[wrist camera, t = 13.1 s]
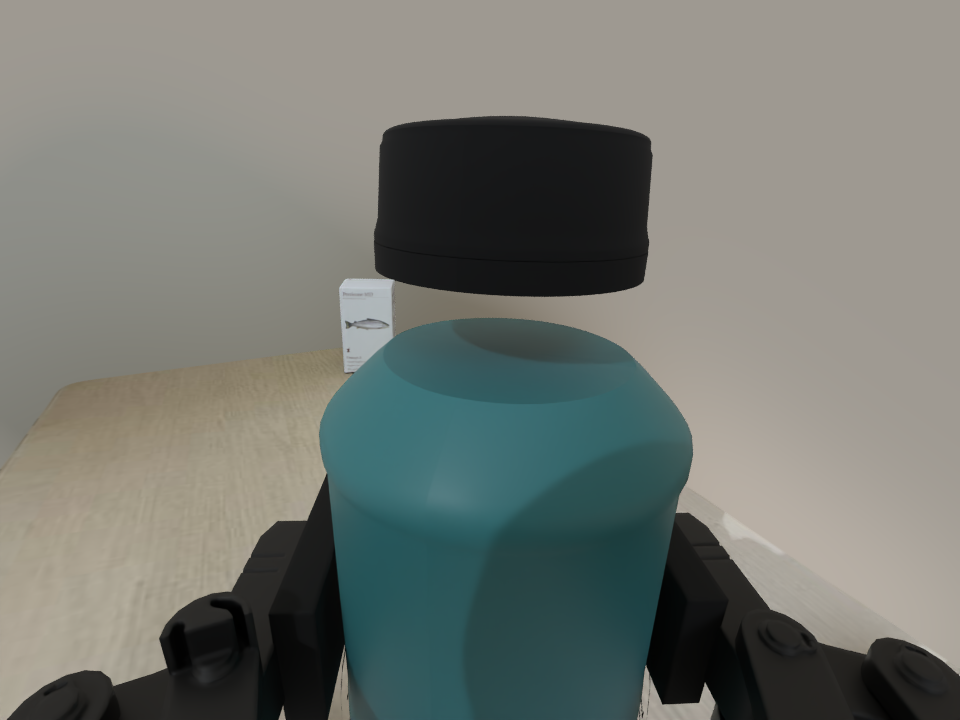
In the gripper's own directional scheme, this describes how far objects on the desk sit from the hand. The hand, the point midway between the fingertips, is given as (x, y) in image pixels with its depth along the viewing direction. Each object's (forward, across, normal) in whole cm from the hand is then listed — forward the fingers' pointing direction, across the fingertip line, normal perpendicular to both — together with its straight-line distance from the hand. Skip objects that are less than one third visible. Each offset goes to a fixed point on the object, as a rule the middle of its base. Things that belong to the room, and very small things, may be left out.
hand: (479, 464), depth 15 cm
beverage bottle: (-5, 0, -11) cm, 12 cm away
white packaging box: (+55, -12, -18) cm, 59 cm away
